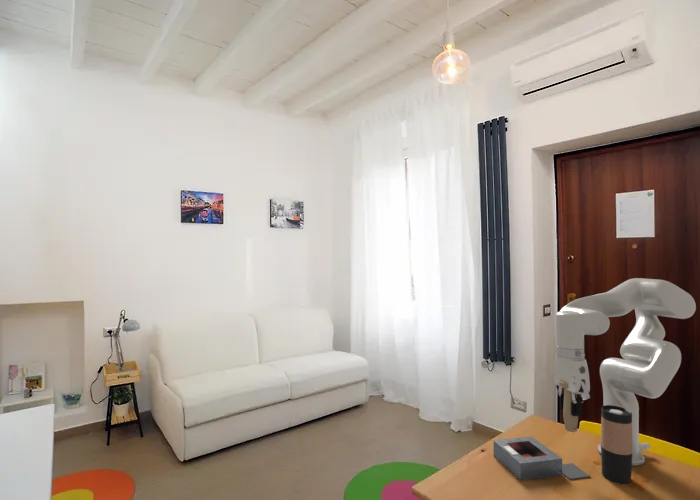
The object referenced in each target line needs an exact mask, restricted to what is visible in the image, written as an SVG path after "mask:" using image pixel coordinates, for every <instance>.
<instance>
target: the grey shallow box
mask: <svg viewBox="0 0 700 500" xmlns="http://www.w3.org/2000/svg"><path fill="white" fill-rule="evenodd" d="M524 454H529V455H531V456H532V457H528V458H524V457H522V456H521V455H524ZM493 457H494V458H495V459H497V460H498V461H499V462H500V463H501V464H502V465H503V466H504V468H506V469H507V470H508V471H509V472H511V474H513V476H515V477H516V478H517V479H518V480H519V481H520V482H521V481H529V480H535V479H544V478H551V477H552V478H553V477H561V476H563V474H562V464H563V458H562V457H561V456H559V455H558V454H556V453H555V452H554V451H553V450H551V449H550V448H548V447H547V446H546V445H544V444H543V443H541V442H540V441H539V440H538V439H536V438H534V437H533V436H531V435H530V436H523V437H522V436H520V437H513V438H506V439H504V438H503V439H502V438H501V439H494V440H493Z"/></svg>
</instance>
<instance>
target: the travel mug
mask: <svg viewBox="0 0 700 500" xmlns="http://www.w3.org/2000/svg"><path fill="white" fill-rule="evenodd" d="M600 411H601V415H600V416H601V417H600V419H601V420H600V423H601V424H600V427H601V428H600V444H601V454H600V457H601V458H600V459H601V475H602V476H603V477H604V478H605V480H608V481H609V482H612V483H614V484H618V485H629V484H631V483H632V467H633V465H632V413H629V412H627V411H626V409H624V408H622V407H618V406H612V405H605V406H603V405H602V406H601V410H600Z"/></svg>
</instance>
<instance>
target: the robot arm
mask: <svg viewBox="0 0 700 500" xmlns="http://www.w3.org/2000/svg"><path fill="white" fill-rule="evenodd" d="M633 310H634V312H635V319H636V320H635V325H634V326H633V328H632V330H631V331H630V332H629V334H628V336H627V337H626V338H625V340H624V341H623V343H622V344H621V346H620V349H619V353H620V356H621V357H622V358H620V357H619V358H618V357H608V358H605V359H604V360H602V362H601V363H600V366H599V377H600V380H601V384H602V393H603V394H602V395H603V396H602V397H603V401H602V402H603V405H602V406H605V405H612V406H618V407H622V408H624V409H626V411H627V412H629V413H632V467H634V466H641V465H644V463H645V461H646V460H645V456H644V455H643V454H642V452H643V450H644V451H646V450H650V449H651V446H650V443H648V442H641V443H640V437H639V436H640V435H639V434H640V431H639V426H640V425H639V422H640V421H639V419H640V418H639V417H640V413H639V411H640V407H639V401H638V400H637V399H638V398H637V397H636V395H638V396H641V397H645V398H648V399H657V398H659V397H661V396H662V395H663V394H664V393H665V391H666V390H667V388H668V386H669V385H670V383H671V382H672V380H673V378H674V377H675V375H676V374H677V373H678V370H679V368H680V366H681V364H682V353H681V350H680V348H679V347H678V346H677V345H676V344H674V343H672V342H670V341H667V340H664V338H665V337H666V331H665V327H664V326H663V324H662V323H661V322H660V320H659V318H658V317H659V316H660V317H666V318H673V319H680V320H686V319H689V318H691V317H693V316H694V314H695V312H696V310H697V306H696V302H695V299H694V297H693V296H692V294H690V293H689V292H687V291H685V290H684V289H683V288H680V287H679V286H678V285H676V284H674V283H672V282H671V281H668V280H664V279H658V278H657V279H654V278H642V277H640V278H639V277H634V278H630V279H627V280H625V281H623V282H621V283H620V284H618V285H617V286H615V287H613V288H612V289H610V290H608V291H606V292H602V293H597V294H593V295H588V296H587V295H586V296H584V297H580V298H577V299H575V300H572V301H571V302H568V303H567V304H566V305H564V306H563V307H561V309H560V310H559V311H558V312H556V313H555V318H554V319H555V357H554V362H553V379H552V383H553V384H554V385H555V387H556V390H557V393H558V396H559V409H560V410H562V411H563V404H564V388H563V387H561V386H560V385H559V384H558V380H561V381H563V382H565V383H567V384H568V388H567V389H566V390H568V391H570V392H571V393H572V400H573V402H571V415H572V416H578V417H579V416H582V415H583V407H582V406H583V403H584V402H585V401H586V400H588V399H591V396H590V390H591V383H590V372H589V371H590V370H589V367H588V363H587V359H586V358H585V357H586V354H585V335H586V336H599V335H603V334H605V333H607V331H608V330H609V328H610V324H611V321H610V319H609V318H614V317H622V316H625V315H627V314H628V313H630V312H632V311H633ZM576 394H577V398H576ZM635 394H636V395H635ZM597 452H598V453H599V454H600V455H601V443H599V444H598V445H597Z"/></svg>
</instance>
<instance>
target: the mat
mask: <svg viewBox="0 0 700 500" xmlns="http://www.w3.org/2000/svg"><path fill="white" fill-rule="evenodd" d="M562 476H564V477H565V478H567V479H568V480H571V481H575V480H580V479H588V478H591V475H590V474H588V473H587V472H586V471H585V470H583V469H581V468H580V467H579V466H577V465H576V464H575V463H573V462H570V463H562Z"/></svg>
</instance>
